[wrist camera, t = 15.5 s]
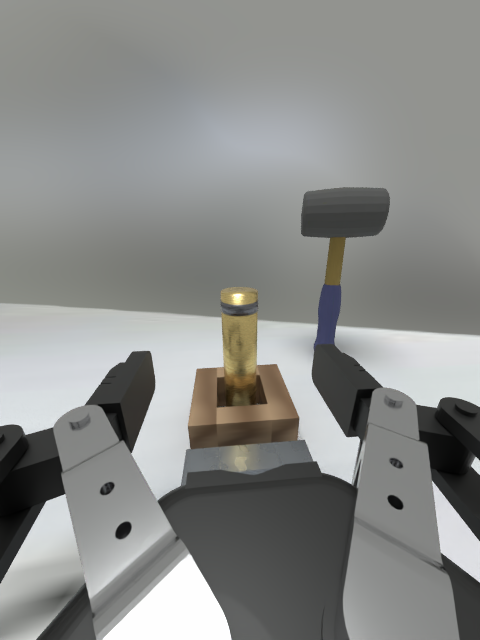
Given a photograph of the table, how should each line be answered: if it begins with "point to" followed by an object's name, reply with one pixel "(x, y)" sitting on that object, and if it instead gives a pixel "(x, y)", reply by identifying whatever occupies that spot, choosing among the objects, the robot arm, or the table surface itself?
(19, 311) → the table surface
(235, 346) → the brass peg
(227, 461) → the socket block
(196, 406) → the block
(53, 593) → the table surface
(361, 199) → the rubber mallet
